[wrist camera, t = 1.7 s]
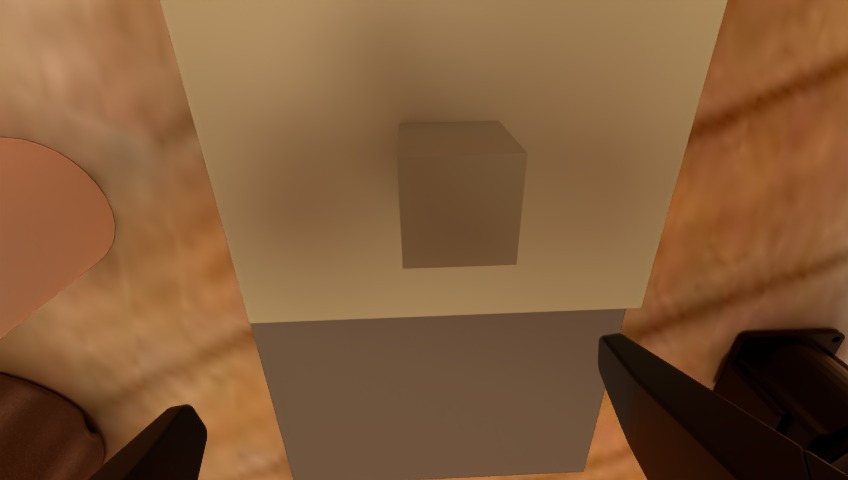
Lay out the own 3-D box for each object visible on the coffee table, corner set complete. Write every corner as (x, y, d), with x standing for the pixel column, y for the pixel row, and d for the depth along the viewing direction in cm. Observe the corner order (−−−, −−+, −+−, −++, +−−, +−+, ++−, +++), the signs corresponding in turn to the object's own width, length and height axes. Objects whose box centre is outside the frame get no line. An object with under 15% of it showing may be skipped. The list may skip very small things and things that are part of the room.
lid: (702, -49, 14) (877, -88, 9) (620, 283, 21) (694, 374, 15) (180, -39, 14) (39, -73, 9) (263, 296, 20) (212, 395, 15)
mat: (625, 300, 25) (627, 303, 24) (582, 468, 32) (583, 471, 32) (250, 314, 24) (248, 317, 24) (296, 481, 32) (295, 485, 31)
